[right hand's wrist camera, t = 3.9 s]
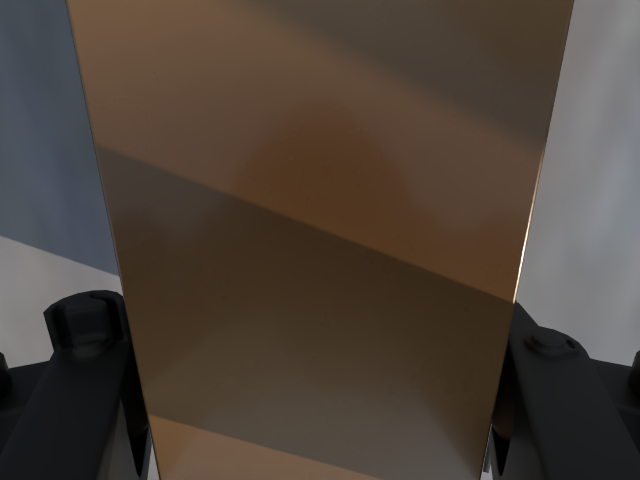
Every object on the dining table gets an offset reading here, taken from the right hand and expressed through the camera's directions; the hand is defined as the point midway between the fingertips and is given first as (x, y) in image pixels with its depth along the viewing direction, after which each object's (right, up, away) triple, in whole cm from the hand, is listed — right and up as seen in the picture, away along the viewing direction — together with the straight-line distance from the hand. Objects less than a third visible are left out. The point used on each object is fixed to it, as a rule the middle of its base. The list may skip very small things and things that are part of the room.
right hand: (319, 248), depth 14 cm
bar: (0, +8, -3) cm, 9 cm away
